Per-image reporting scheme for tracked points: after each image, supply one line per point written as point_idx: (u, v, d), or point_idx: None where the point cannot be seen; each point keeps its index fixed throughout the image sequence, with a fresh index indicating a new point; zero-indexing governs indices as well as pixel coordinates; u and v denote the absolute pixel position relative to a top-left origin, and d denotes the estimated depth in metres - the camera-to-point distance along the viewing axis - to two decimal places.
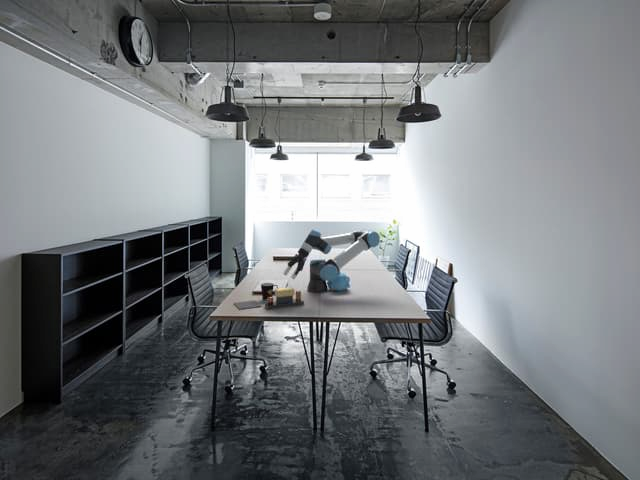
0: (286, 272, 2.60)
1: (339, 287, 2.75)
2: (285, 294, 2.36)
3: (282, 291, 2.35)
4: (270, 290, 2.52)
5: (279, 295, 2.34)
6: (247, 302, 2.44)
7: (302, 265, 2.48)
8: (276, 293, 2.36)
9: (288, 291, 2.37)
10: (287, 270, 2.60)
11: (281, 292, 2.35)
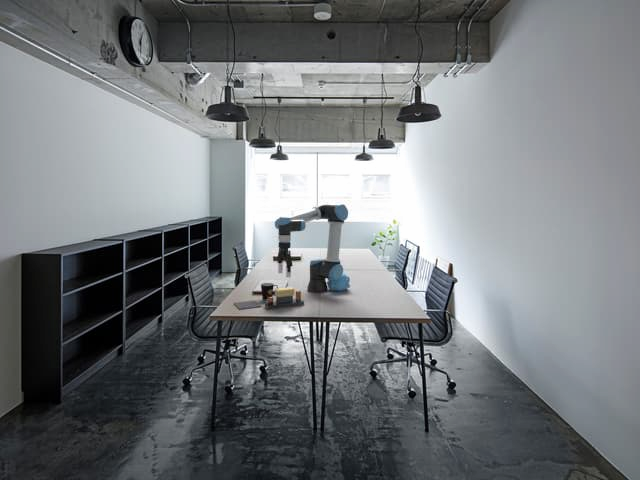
0: (280, 270, 2.43)
1: (339, 287, 2.75)
2: (285, 294, 2.36)
3: (282, 291, 2.35)
4: (270, 290, 2.52)
5: (279, 295, 2.34)
6: (247, 302, 2.44)
7: (290, 260, 2.29)
8: (276, 293, 2.36)
9: (288, 291, 2.37)
10: (280, 267, 2.43)
11: (281, 292, 2.35)
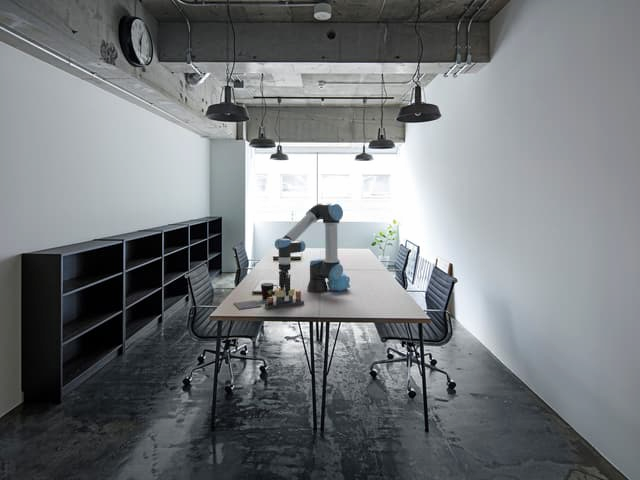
0: None
1: (339, 287, 2.75)
2: None
3: (282, 291, 2.35)
4: (270, 290, 2.52)
5: (279, 295, 2.34)
6: (247, 302, 2.44)
7: (288, 284, 2.33)
8: (276, 293, 2.36)
9: None
10: None
11: (281, 292, 2.35)
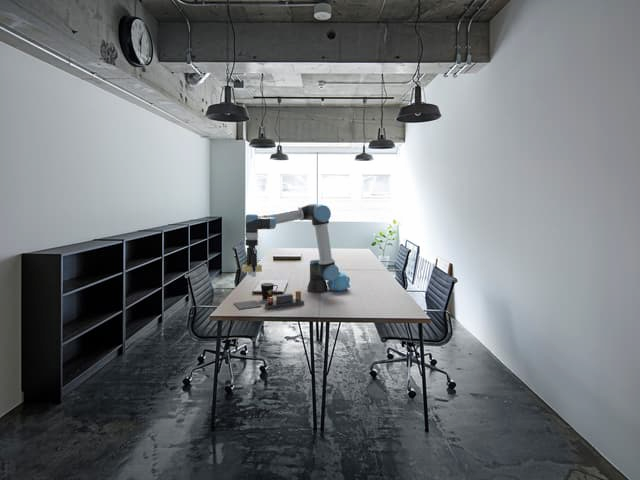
0: None
1: (339, 287, 2.75)
2: None
3: (249, 267, 2.33)
4: (270, 290, 2.52)
5: (246, 271, 2.33)
6: (247, 302, 2.44)
7: (255, 260, 2.31)
8: (243, 269, 2.35)
9: None
10: None
11: (248, 268, 2.33)
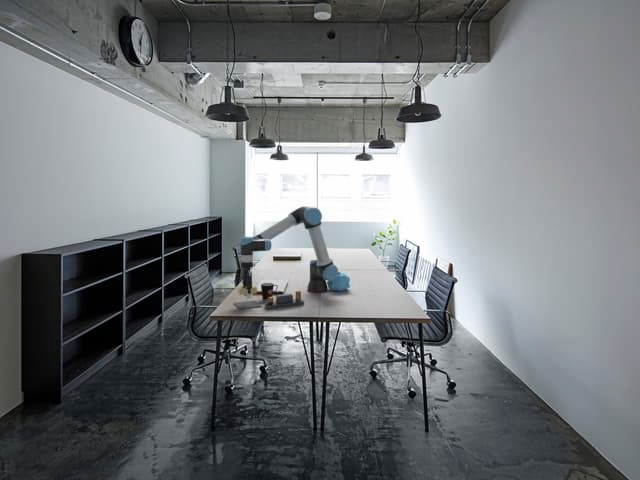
0: (246, 293, 2.42)
1: (339, 287, 2.75)
2: None
3: (244, 289, 2.35)
4: (270, 290, 2.52)
5: (241, 293, 2.34)
6: (247, 302, 2.44)
7: (250, 282, 2.33)
8: (238, 291, 2.37)
9: None
10: None
11: (243, 290, 2.35)
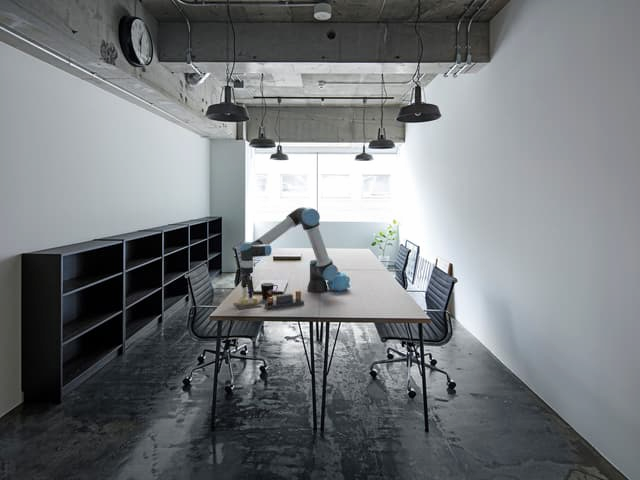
0: (244, 294, 2.45)
1: (339, 287, 2.75)
2: (247, 303, 2.37)
3: (244, 300, 2.36)
4: (270, 290, 2.52)
5: (241, 305, 2.35)
6: None
7: (251, 286, 2.31)
8: (238, 302, 2.37)
9: None
10: (244, 292, 2.45)
11: (243, 302, 2.36)
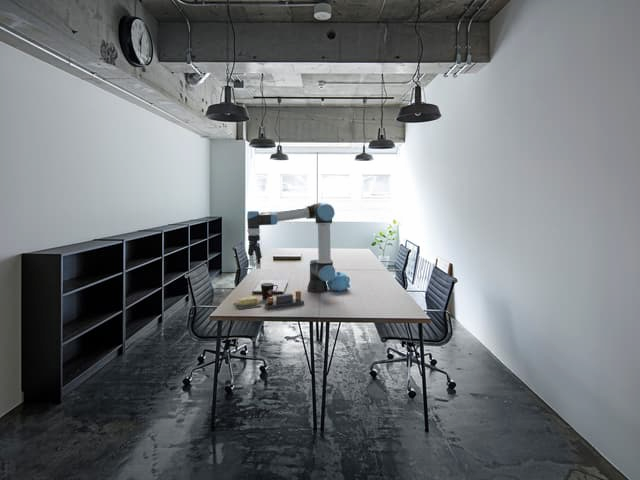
0: (251, 262, 2.53)
1: (339, 287, 2.75)
2: (247, 303, 2.37)
3: (244, 300, 2.36)
4: (270, 290, 2.52)
5: (241, 305, 2.35)
6: None
7: (259, 252, 2.39)
8: (238, 302, 2.37)
9: (250, 300, 2.38)
10: (251, 260, 2.53)
11: (243, 302, 2.36)
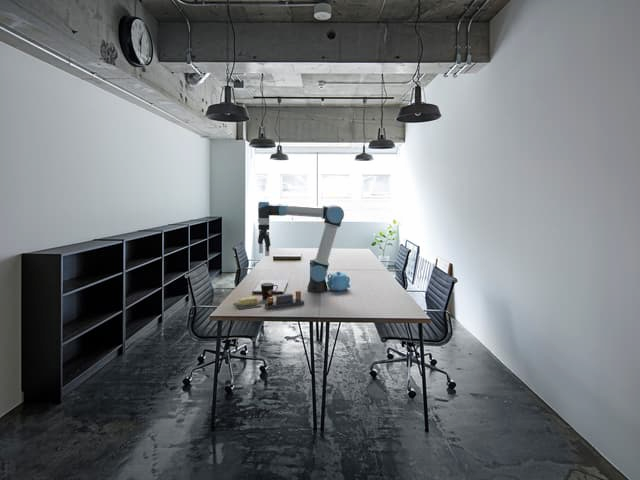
0: (261, 250, 2.68)
1: (339, 287, 2.75)
2: (247, 303, 2.37)
3: (244, 300, 2.36)
4: (270, 290, 2.52)
5: (241, 305, 2.35)
6: None
7: (268, 240, 2.54)
8: (238, 302, 2.37)
9: (250, 300, 2.38)
10: (260, 248, 2.68)
11: (243, 302, 2.36)
